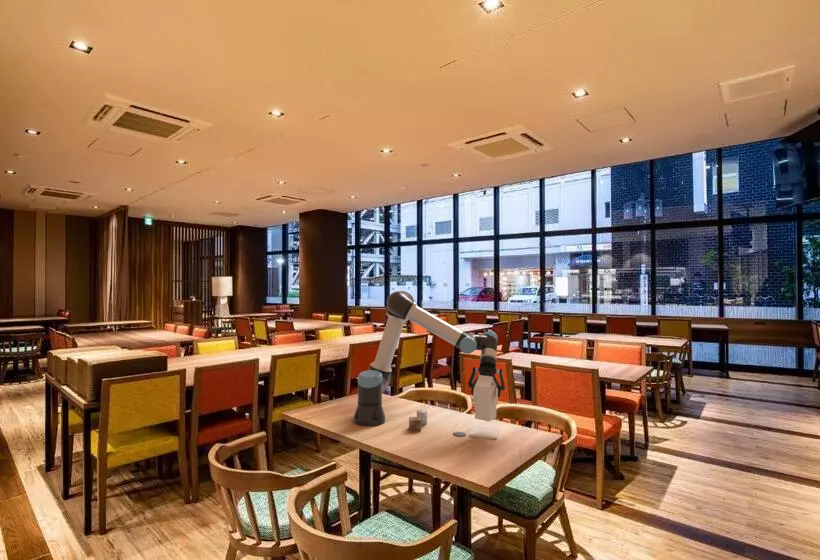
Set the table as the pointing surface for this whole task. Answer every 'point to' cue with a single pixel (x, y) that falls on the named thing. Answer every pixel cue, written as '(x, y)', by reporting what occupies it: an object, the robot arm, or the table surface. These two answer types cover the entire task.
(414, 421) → the walnut block
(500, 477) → the table surface
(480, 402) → the milk carton
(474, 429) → the plate
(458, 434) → the slate coaster
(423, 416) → the white small cylinder
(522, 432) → the table surface
